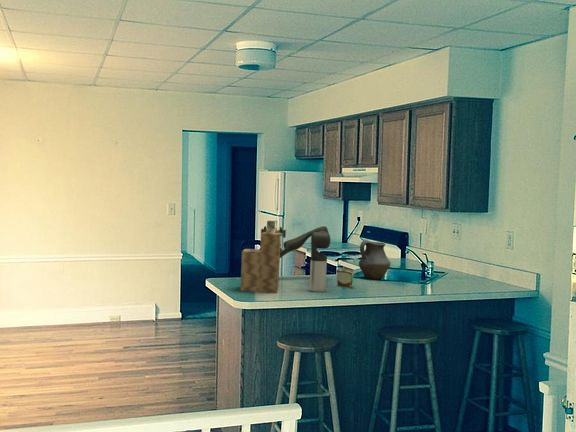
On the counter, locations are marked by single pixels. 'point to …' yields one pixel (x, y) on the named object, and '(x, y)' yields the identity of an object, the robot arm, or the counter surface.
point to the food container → (344, 277)
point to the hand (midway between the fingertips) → (272, 227)
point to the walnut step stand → (262, 265)
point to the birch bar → (271, 227)
